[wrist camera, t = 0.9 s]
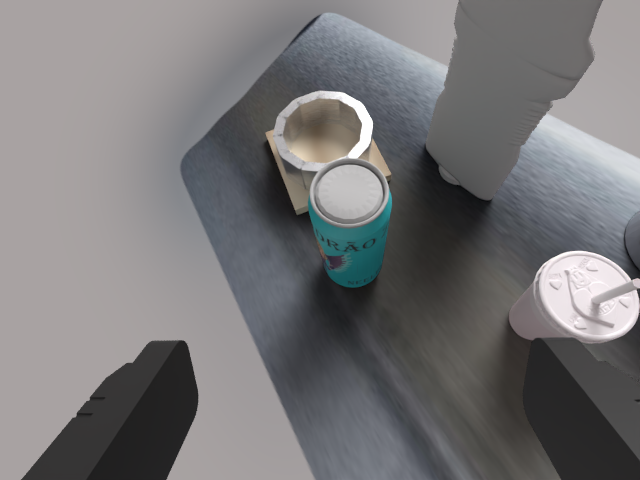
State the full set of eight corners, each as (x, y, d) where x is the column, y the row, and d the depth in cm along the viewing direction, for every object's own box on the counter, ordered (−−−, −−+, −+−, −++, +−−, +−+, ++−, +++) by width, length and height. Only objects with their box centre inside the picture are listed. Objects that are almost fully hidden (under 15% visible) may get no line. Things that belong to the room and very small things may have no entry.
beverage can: (313, 259, 39) (288, 184, 25) (358, 228, 40) (357, 139, 26) (346, 303, 37) (339, 248, 23) (393, 270, 38) (412, 197, 24)
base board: (352, 108, 46) (352, 101, 45) (390, 180, 41) (391, 174, 40) (267, 139, 45) (265, 132, 44) (296, 215, 41) (295, 210, 40)
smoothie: (520, 368, 33) (623, 351, 20) (479, 303, 36) (547, 250, 23) (583, 337, 34) (723, 300, 21) (538, 274, 36) (637, 207, 23)
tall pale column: (410, 148, 43) (456, -74, 23) (438, 129, 43) (506, -104, 23) (479, 213, 39) (608, 17, 19) (508, 191, 40) (664, -22, 19)
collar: (350, 105, 44) (349, 79, 41) (385, 172, 41) (387, 149, 37) (270, 134, 44) (262, 110, 40) (298, 204, 40) (291, 185, 36)
